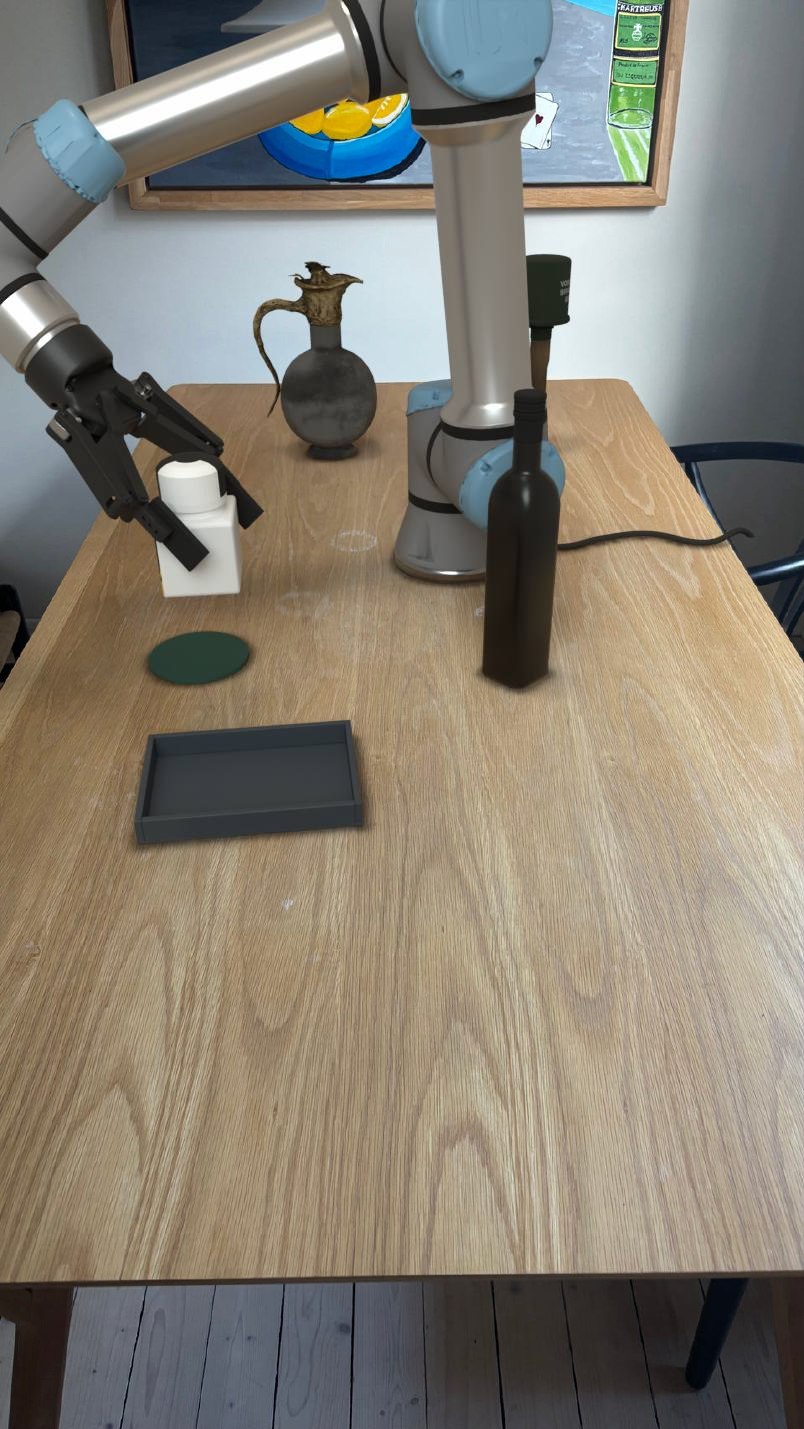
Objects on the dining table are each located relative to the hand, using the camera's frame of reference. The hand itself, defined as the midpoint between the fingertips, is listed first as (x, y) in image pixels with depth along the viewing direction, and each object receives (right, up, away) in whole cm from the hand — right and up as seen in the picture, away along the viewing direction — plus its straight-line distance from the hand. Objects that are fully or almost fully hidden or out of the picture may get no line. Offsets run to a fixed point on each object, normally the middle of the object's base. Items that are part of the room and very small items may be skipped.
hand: (228, 540), depth 95 cm
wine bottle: (+28, -12, +16) cm, 34 cm away
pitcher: (+3, +27, +77) cm, 82 cm away
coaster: (-7, -10, +19) cm, 23 cm away
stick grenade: (+38, +27, +76) cm, 89 cm away
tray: (+2, -23, -1) cm, 23 cm away
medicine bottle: (-3, -3, +4) cm, 6 cm away
